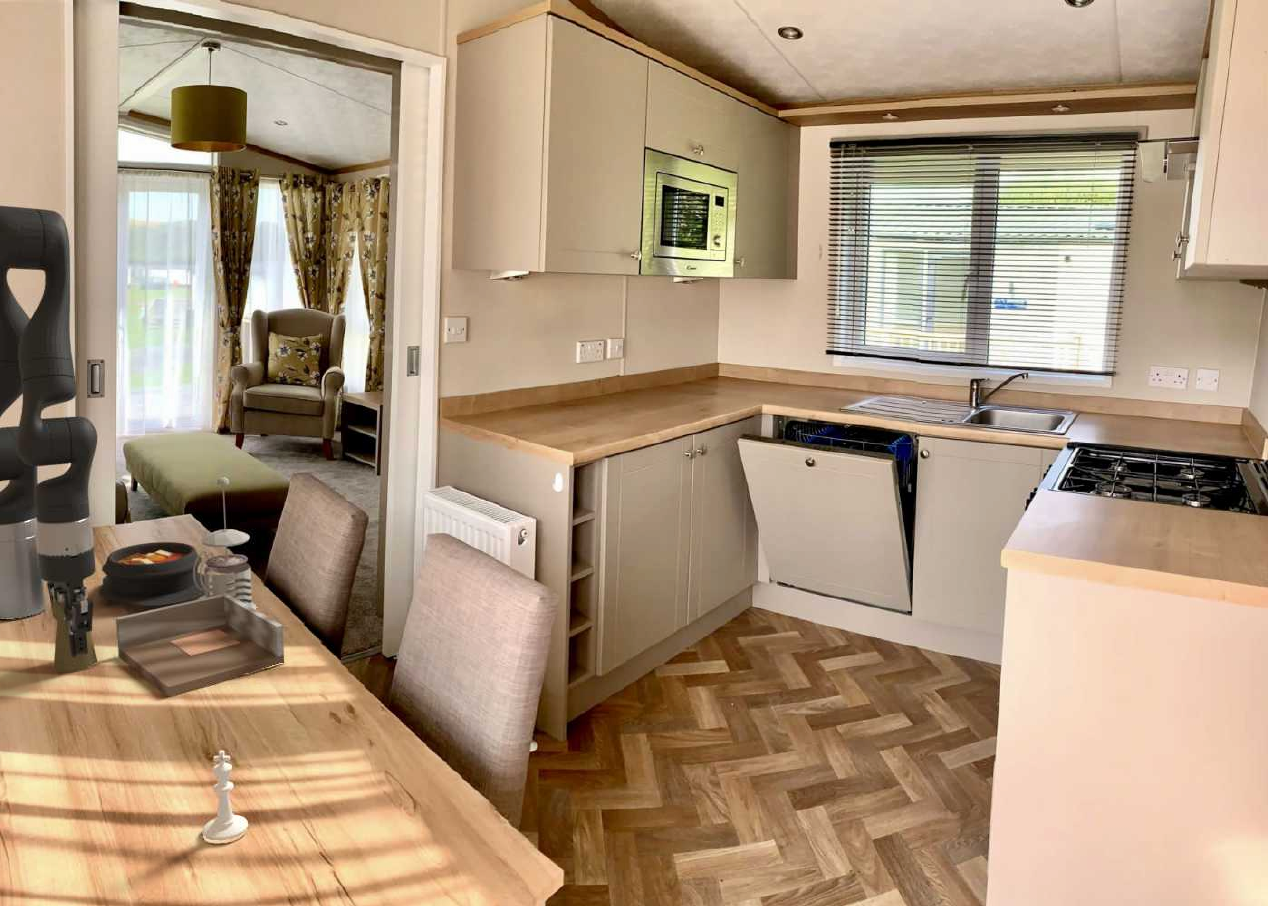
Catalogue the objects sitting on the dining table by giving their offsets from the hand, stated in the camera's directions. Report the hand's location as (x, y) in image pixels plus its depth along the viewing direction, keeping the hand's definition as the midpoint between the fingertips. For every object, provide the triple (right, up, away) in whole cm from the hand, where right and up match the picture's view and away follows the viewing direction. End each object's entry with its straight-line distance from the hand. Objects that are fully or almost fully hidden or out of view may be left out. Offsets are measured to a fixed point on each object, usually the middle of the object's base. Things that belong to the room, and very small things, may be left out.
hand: (74, 650), depth 154 cm
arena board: (+18, -2, +4) cm, 19 cm away
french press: (+14, +2, +24) cm, 28 cm away
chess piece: (+41, -12, -42) cm, 60 cm away
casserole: (-3, +4, +32) cm, 33 cm away
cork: (0, -2, +1) cm, 2 cm away
